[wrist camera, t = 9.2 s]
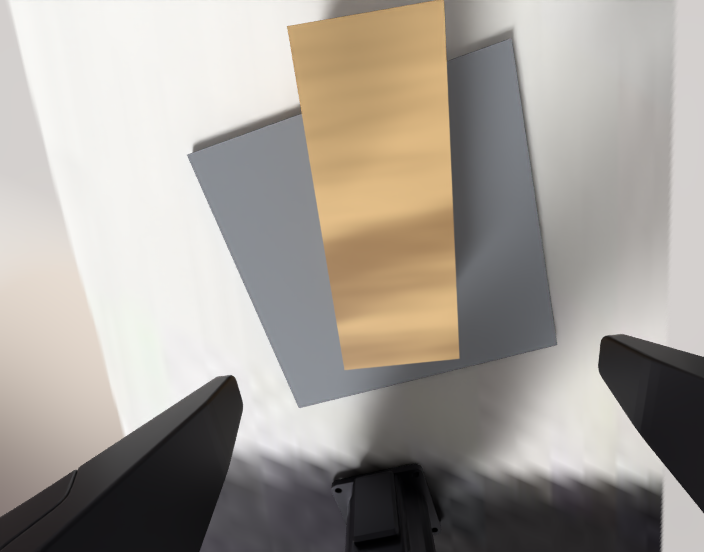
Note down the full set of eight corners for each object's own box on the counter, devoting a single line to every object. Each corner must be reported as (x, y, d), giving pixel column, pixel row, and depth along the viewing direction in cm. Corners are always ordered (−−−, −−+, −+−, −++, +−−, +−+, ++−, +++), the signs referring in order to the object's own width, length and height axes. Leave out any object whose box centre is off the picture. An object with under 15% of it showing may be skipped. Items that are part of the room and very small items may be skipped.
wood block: (459, 358, 15) (444, -2, 11) (344, 370, 15) (287, 26, 11) (436, 310, 20) (419, 45, 16) (349, 319, 20) (309, 63, 16)
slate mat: (552, 340, 21) (557, 344, 20) (300, 402, 23) (299, 408, 22) (507, 41, 16) (511, 38, 15) (191, 154, 18) (187, 154, 18)
